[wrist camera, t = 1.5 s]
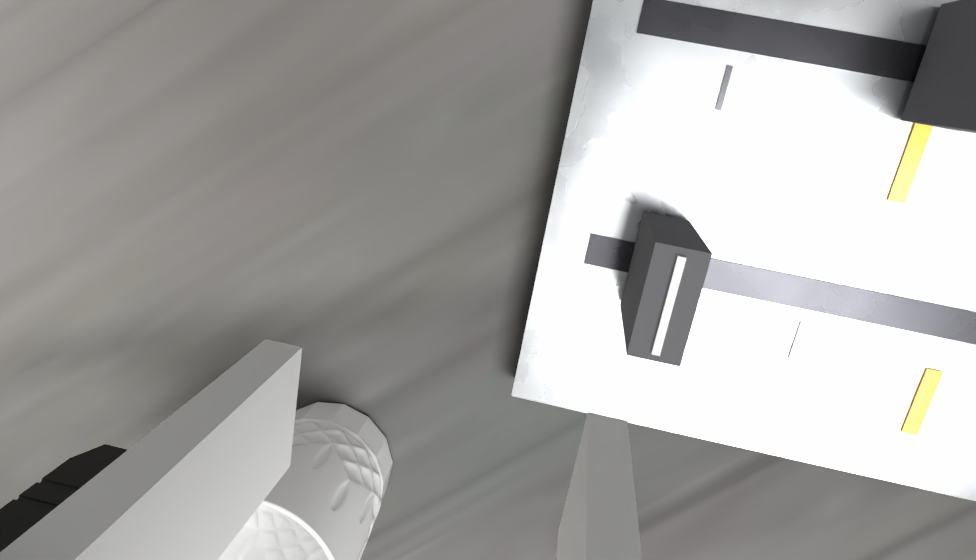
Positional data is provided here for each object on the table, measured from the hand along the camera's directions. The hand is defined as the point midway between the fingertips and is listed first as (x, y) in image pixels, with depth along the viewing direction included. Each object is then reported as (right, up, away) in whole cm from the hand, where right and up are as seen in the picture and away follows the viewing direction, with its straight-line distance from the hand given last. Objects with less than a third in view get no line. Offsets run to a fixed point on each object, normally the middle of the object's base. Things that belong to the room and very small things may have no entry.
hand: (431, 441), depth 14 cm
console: (+16, +6, +18) cm, 25 cm away
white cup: (-7, -7, +25) cm, 27 cm away
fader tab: (+8, +4, +17) cm, 19 cm away
